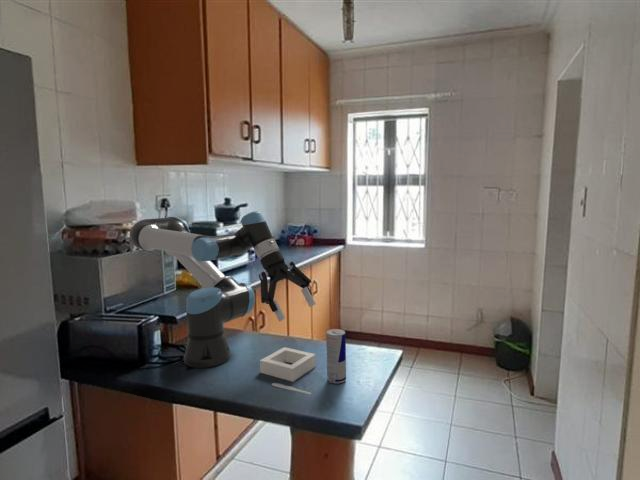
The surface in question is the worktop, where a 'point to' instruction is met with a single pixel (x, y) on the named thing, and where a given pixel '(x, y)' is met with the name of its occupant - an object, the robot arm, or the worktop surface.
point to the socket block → (279, 369)
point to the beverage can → (336, 356)
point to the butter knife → (289, 388)
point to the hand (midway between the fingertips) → (298, 312)
